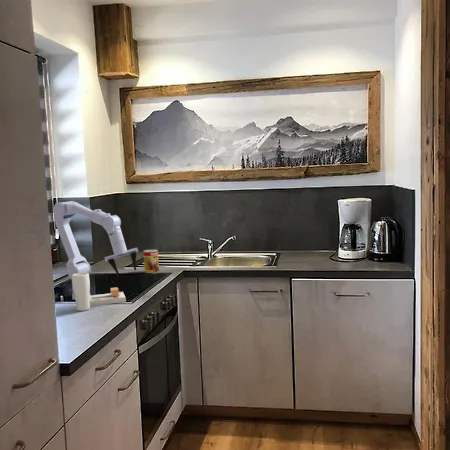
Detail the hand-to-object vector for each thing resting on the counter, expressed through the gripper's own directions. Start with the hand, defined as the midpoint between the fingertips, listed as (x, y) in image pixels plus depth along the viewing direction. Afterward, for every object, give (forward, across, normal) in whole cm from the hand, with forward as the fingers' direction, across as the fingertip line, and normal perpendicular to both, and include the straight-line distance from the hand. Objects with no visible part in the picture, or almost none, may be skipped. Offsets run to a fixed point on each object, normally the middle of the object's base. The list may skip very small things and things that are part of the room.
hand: (126, 272), depth 234 cm
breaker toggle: (+8, -7, +5) cm, 12 cm away
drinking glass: (+9, -22, -6) cm, 24 cm away
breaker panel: (+9, -12, +5) cm, 16 cm away
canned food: (+6, +17, +59) cm, 62 cm away
